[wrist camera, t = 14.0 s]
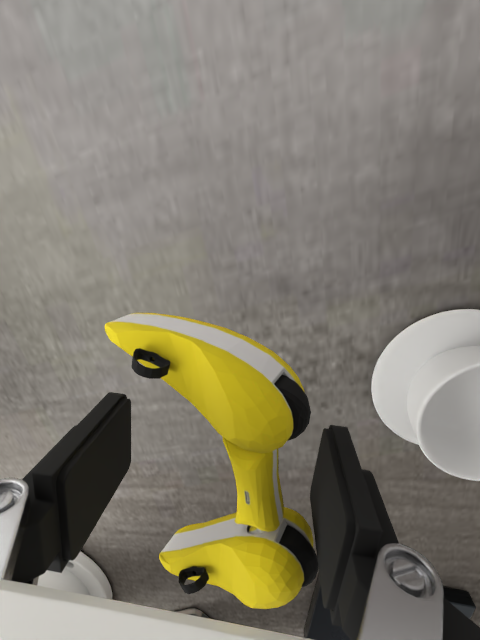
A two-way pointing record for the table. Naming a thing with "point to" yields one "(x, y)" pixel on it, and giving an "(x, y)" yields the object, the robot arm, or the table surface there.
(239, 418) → the yellow curved piece
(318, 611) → the bracket
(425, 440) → the teacup
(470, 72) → the table surface
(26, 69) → the table surface
